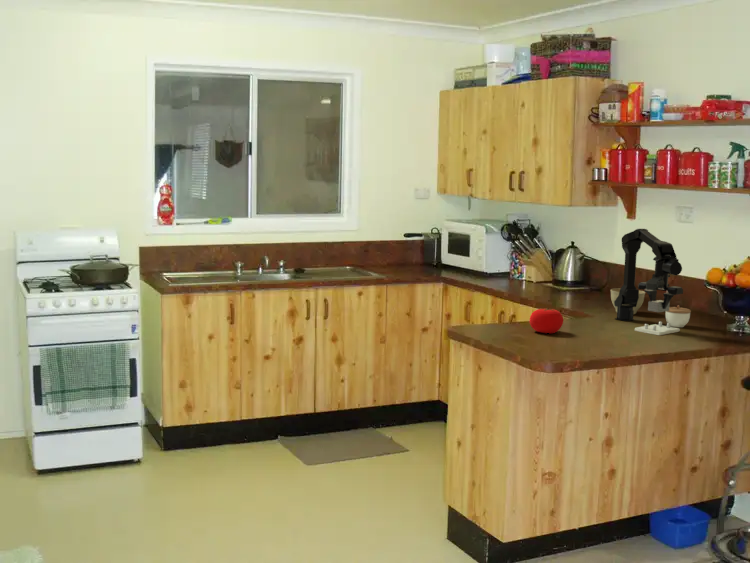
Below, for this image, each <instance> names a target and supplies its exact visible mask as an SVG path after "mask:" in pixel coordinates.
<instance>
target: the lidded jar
mask: <svg viewBox="0 0 750 563" xmlns="http://www.w3.org/2000/svg"><path fill="white" fill-rule="evenodd" d="M664 312H665V315H664V316H665V320H666V323H670V327H673V328H684V327H685V326H686V325H687V324H688V323H689V321H690V318H691V312H692V310H691V309H689V308H686V307H680V305H679V304H678V305H676V306H669V311H664Z"/></svg>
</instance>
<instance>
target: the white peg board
mask: <svg viewBox="0 0 750 563" xmlns="http://www.w3.org/2000/svg"><path fill="white" fill-rule="evenodd" d="M680 330H681V329H680V328H679V327H672V326H670V323H668V322H666V325H663V321H658V324H656V323H655V324H650V325H649V324H648V323H644V325H643V326H638V327H634V331H635V332H640V333H645V334H650V335H657V336H663V335H668V334H673V333H678V332H680Z"/></svg>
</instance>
